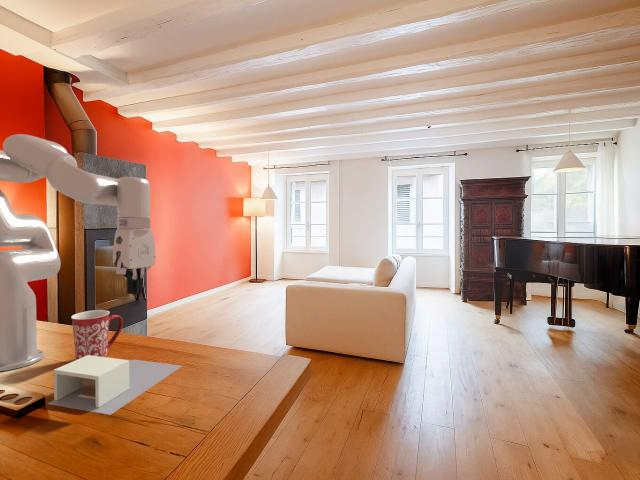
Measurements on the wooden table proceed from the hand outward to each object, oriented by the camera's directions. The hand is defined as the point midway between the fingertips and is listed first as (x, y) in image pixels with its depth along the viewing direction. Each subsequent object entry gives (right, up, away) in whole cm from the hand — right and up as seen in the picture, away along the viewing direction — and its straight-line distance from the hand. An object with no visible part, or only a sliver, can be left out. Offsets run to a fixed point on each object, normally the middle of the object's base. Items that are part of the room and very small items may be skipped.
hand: (134, 293), depth 85 cm
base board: (+2, -22, -8) cm, 23 cm away
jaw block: (-1, -20, -12) cm, 24 cm away
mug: (-15, -21, +8) cm, 27 cm away
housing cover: (-1, -21, -13) cm, 25 cm away
